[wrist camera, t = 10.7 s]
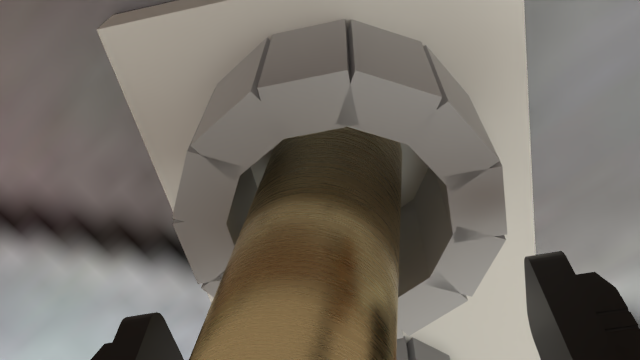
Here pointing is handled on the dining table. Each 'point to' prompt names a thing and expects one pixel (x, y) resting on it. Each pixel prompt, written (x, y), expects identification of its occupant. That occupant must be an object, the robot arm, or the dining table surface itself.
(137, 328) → the robot arm
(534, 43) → the dining table surface
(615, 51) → the dining table surface
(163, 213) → the dining table surface
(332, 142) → the brass cylinder
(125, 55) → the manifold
